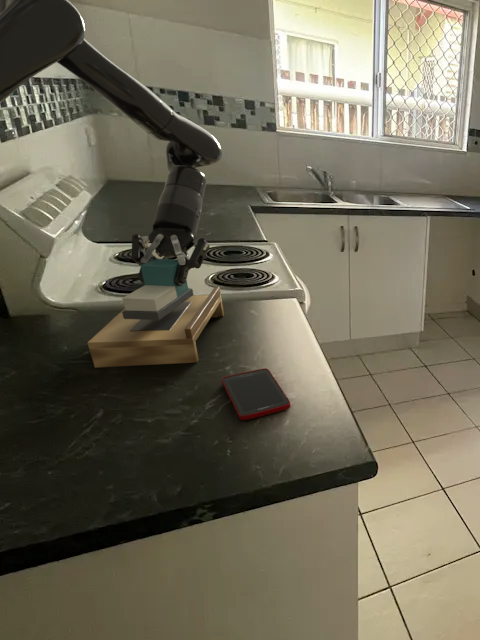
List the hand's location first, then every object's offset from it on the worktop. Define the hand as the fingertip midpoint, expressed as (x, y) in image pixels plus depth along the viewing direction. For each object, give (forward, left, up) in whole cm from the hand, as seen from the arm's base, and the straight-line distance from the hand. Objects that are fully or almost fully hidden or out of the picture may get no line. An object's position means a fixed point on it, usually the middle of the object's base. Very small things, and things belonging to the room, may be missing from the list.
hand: (161, 283), depth 95 cm
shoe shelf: (0, -2, -11) cm, 11 cm away
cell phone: (+20, -28, -11) cm, 36 cm away
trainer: (0, -2, -4) cm, 5 cm away
